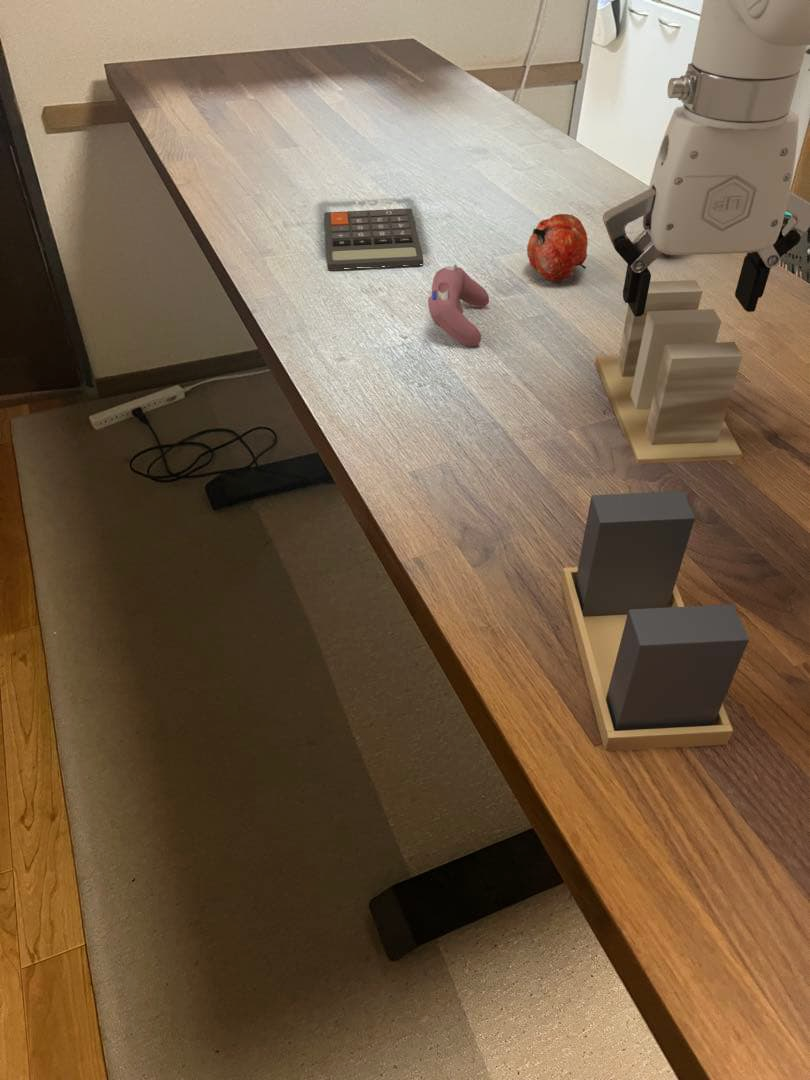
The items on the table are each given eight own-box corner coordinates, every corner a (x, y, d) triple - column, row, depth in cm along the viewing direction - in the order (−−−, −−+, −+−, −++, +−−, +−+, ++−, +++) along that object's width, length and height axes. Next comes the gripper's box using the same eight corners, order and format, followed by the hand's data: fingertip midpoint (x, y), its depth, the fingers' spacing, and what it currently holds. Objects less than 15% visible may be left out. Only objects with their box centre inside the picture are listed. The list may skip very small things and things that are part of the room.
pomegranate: (556, 273, 108) (500, 235, 102) (598, 227, 104) (542, 185, 98) (576, 308, 103) (518, 270, 97) (621, 261, 99) (564, 219, 94)
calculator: (411, 206, 115) (423, 258, 104) (411, 213, 115) (423, 265, 105) (323, 210, 114) (326, 263, 103) (324, 217, 115) (327, 270, 104)
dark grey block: (710, 732, 56) (750, 639, 50) (614, 738, 56) (640, 645, 49) (698, 697, 58) (733, 603, 52) (604, 702, 58) (628, 608, 51)
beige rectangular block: (698, 406, 82) (721, 321, 75) (635, 409, 81) (653, 323, 75) (691, 393, 83) (713, 308, 77) (630, 395, 83) (647, 311, 77)
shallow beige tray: (725, 748, 56) (733, 730, 55) (603, 755, 56) (608, 737, 54) (662, 580, 67) (667, 562, 65) (560, 585, 66) (563, 567, 65)
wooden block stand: (740, 463, 77) (772, 367, 70) (636, 467, 77) (657, 371, 70) (684, 360, 89) (707, 269, 82) (594, 363, 89) (609, 273, 82)
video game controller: (456, 314, 99) (430, 260, 95) (493, 300, 97) (467, 245, 94) (444, 360, 92) (415, 304, 88) (483, 346, 90) (455, 289, 87)
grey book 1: (666, 612, 64) (695, 517, 57) (581, 617, 63) (600, 522, 57) (656, 585, 66) (683, 490, 59) (573, 589, 65) (591, 494, 59)
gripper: (635, 113, 60) (600, 332, 72) (877, 105, 61) (804, 324, 72) (610, 82, 66) (581, 290, 77) (832, 75, 66) (771, 282, 78)
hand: (689, 306), depth 75 cm, fingers open, 9 cm apart
